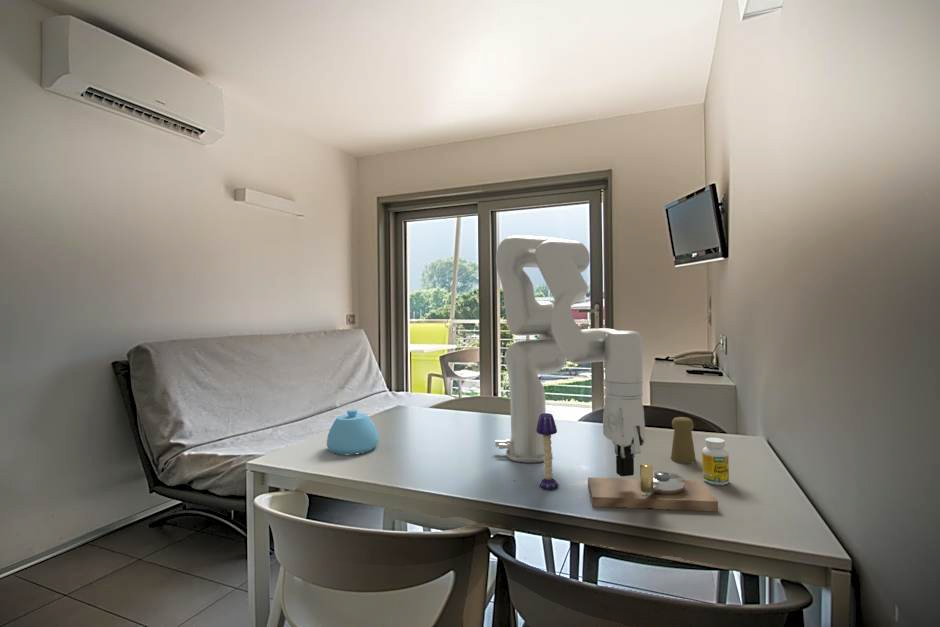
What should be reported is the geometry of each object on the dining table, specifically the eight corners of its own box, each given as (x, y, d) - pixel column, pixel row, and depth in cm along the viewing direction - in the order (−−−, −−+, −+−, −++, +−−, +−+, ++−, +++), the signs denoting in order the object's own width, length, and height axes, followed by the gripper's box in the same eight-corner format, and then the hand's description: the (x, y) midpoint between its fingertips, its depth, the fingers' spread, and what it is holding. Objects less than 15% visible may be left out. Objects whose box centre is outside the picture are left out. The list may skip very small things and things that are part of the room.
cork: (698, 464, 121) (698, 420, 121) (673, 463, 123) (672, 420, 122) (692, 456, 127) (692, 415, 127) (668, 455, 129) (667, 414, 128)
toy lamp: (558, 491, 106) (556, 416, 106) (537, 491, 107) (535, 416, 106) (558, 483, 111) (556, 412, 110) (538, 482, 112) (536, 411, 111)
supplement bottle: (717, 476, 113) (716, 435, 113) (734, 484, 108) (734, 441, 108) (697, 478, 112) (696, 437, 112) (714, 487, 107) (713, 444, 106)
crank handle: (649, 475, 108) (649, 447, 108) (691, 484, 102) (690, 455, 102) (623, 492, 99) (622, 462, 99) (667, 504, 93) (666, 472, 92)
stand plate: (592, 506, 98) (592, 495, 98) (588, 486, 109) (587, 476, 109) (718, 511, 94) (717, 500, 94) (700, 489, 105) (700, 479, 105)
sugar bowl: (375, 439, 152) (374, 403, 152) (382, 453, 138) (381, 413, 137) (326, 445, 147) (325, 407, 147) (327, 459, 133) (326, 418, 133)
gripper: (592, 384, 108) (593, 464, 109) (625, 396, 94) (626, 489, 94) (622, 382, 110) (623, 461, 110) (660, 394, 95) (661, 486, 96)
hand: (625, 474), depth 102 cm, fingers closed
